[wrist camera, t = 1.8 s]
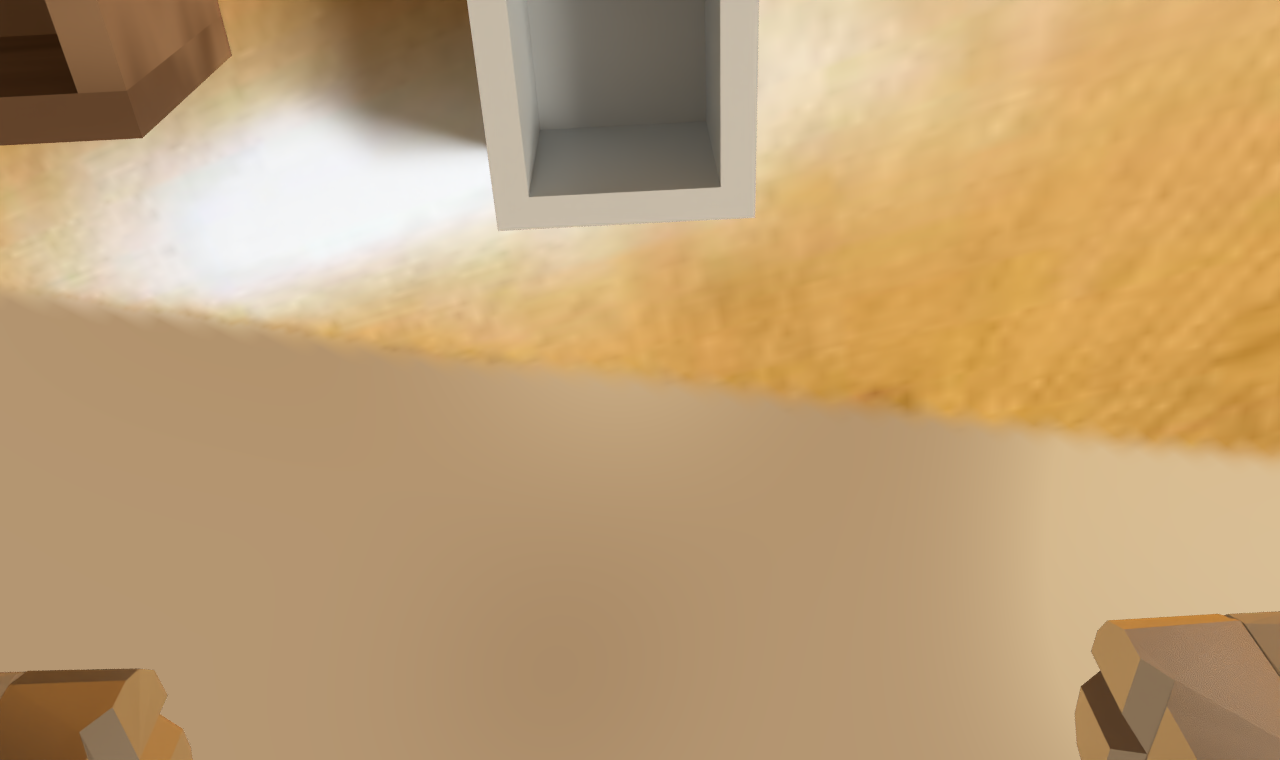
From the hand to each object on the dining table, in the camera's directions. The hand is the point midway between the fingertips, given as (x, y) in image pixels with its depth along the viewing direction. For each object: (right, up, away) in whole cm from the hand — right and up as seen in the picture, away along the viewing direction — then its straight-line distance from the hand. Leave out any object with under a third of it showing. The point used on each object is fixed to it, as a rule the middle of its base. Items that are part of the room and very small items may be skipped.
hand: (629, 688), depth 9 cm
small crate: (0, +12, +17) cm, 21 cm away
